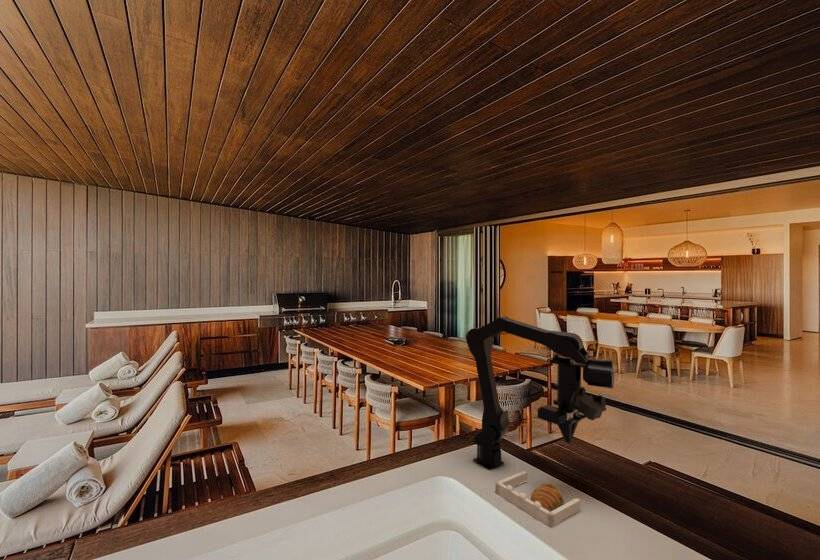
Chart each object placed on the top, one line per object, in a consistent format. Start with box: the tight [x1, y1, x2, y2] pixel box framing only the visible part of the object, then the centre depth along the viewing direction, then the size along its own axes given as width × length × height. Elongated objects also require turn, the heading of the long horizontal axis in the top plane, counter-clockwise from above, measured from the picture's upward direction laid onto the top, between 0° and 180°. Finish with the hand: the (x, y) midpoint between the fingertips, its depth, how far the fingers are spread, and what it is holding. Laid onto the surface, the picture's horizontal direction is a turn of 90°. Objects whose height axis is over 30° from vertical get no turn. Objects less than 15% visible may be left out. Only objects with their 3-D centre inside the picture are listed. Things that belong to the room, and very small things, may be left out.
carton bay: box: [494, 470, 581, 528], centre depth 91 cm, size 16×11×3 cm
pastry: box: [530, 483, 565, 512], centre depth 90 cm, size 9×7×4 cm
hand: (568, 442), depth 98 cm, fingers closed
